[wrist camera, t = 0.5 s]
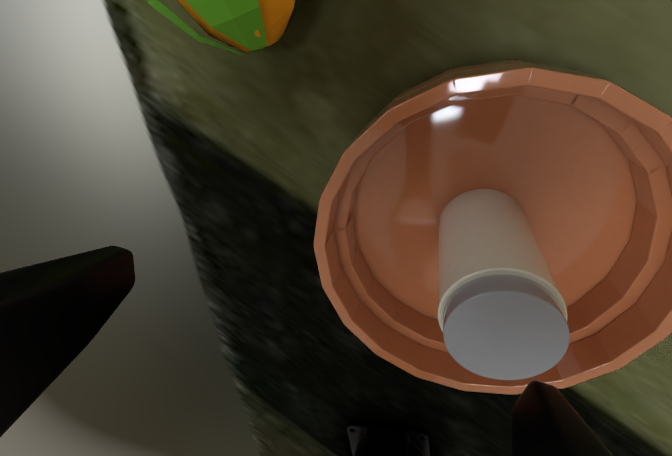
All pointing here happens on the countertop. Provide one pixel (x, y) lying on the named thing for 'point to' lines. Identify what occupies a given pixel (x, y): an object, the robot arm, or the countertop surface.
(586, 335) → the bowl
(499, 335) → the cylinder
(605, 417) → the countertop surface
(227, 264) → the countertop surface
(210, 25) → the corn
